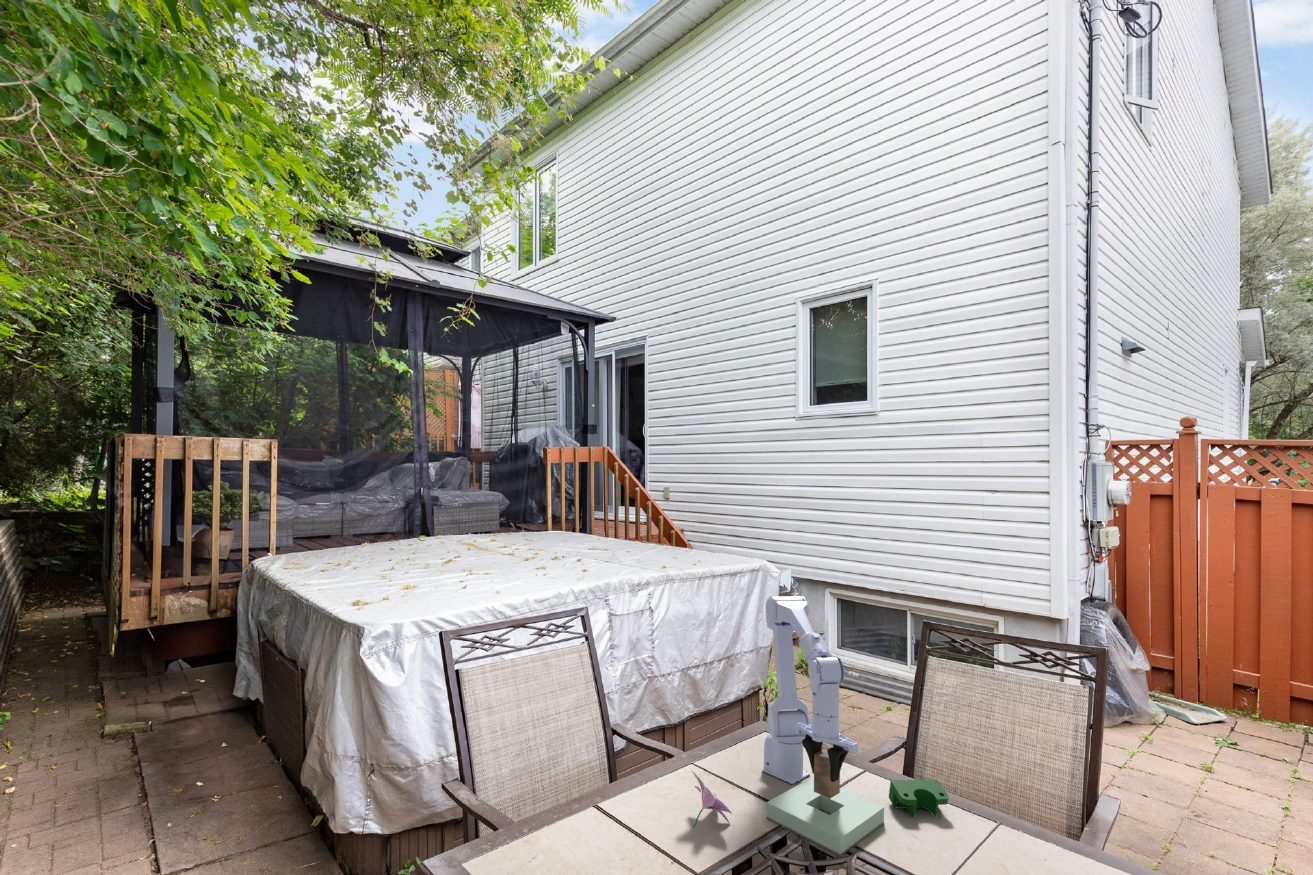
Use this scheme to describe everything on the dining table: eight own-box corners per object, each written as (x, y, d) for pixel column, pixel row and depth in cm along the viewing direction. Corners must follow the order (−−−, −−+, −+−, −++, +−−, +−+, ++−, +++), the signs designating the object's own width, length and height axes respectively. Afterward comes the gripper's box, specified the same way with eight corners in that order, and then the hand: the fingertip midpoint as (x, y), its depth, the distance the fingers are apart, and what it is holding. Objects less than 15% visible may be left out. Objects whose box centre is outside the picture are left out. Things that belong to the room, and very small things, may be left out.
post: (813, 791, 136) (814, 754, 137) (823, 786, 139) (824, 749, 139) (829, 798, 133) (830, 760, 134) (839, 793, 136) (840, 755, 136)
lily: (731, 848, 126) (747, 798, 130) (678, 823, 127) (695, 774, 131) (719, 835, 137) (734, 789, 141) (670, 811, 138) (686, 767, 142)
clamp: (906, 835, 138) (895, 802, 137) (894, 814, 144) (883, 783, 143) (956, 815, 138) (945, 783, 137) (942, 795, 144) (932, 764, 143)
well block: (766, 818, 136) (766, 802, 136) (812, 792, 148) (812, 776, 148) (840, 856, 122) (840, 838, 123) (884, 824, 135) (884, 807, 135)
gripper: (787, 707, 139) (786, 769, 138) (845, 727, 129) (845, 795, 128) (805, 700, 144) (804, 760, 143) (862, 719, 133) (862, 784, 133)
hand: (825, 776), depth 136 cm, fingers closed on post, 4 cm apart
